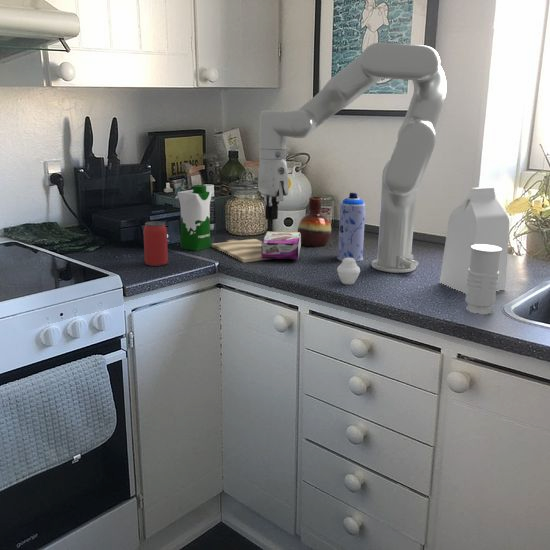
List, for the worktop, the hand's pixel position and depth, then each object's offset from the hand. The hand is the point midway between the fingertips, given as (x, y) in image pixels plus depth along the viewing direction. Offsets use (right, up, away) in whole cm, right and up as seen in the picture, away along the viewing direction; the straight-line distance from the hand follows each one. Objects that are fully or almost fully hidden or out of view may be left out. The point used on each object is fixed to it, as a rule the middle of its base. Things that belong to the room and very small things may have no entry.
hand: (271, 218), depth 181 cm
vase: (+14, -6, +26) cm, 30 cm away
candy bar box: (+3, -9, +1) cm, 10 cm away
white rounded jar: (+20, -19, -16) cm, 32 cm away
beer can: (-33, -13, -1) cm, 36 cm away
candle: (+49, -25, -36) cm, 65 cm away
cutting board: (-7, -9, +15) cm, 19 cm away
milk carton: (-24, -8, +18) cm, 31 cm away
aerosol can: (+24, -12, +8) cm, 28 cm away
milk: (+53, -20, -18) cm, 59 cm away
